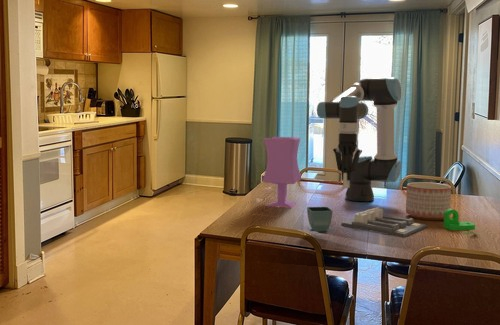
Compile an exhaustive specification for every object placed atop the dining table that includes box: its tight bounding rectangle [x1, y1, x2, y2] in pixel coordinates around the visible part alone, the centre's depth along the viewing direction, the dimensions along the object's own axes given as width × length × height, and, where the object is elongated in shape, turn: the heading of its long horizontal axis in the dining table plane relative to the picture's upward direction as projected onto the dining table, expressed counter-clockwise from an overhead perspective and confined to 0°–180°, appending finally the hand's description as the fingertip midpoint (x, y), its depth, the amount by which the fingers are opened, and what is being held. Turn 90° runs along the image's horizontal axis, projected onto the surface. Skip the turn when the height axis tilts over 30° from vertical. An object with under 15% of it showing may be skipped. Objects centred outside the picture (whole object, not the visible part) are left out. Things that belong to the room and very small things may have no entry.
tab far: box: [371, 206, 384, 218], centre depth 211 cm, size 4×4×5 cm
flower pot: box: [306, 206, 334, 233], centre depth 193 cm, size 9×9×9 cm
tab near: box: [353, 211, 368, 224], centre depth 201 cm, size 4×4×5 cm
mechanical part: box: [442, 208, 476, 231], centre depth 199 cm, size 12×6×8 cm, turn 99°
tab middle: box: [362, 208, 376, 221], centre depth 206 cm, size 4×4×5 cm
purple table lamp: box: [262, 136, 302, 209], centre depth 241 cm, size 16×16×35 cm
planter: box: [405, 181, 452, 221], centre depth 220 cm, size 19×19×15 cm
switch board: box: [340, 215, 428, 238], centre depth 201 cm, size 28×22×3 cm
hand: (346, 187), depth 204 cm, fingers closed
